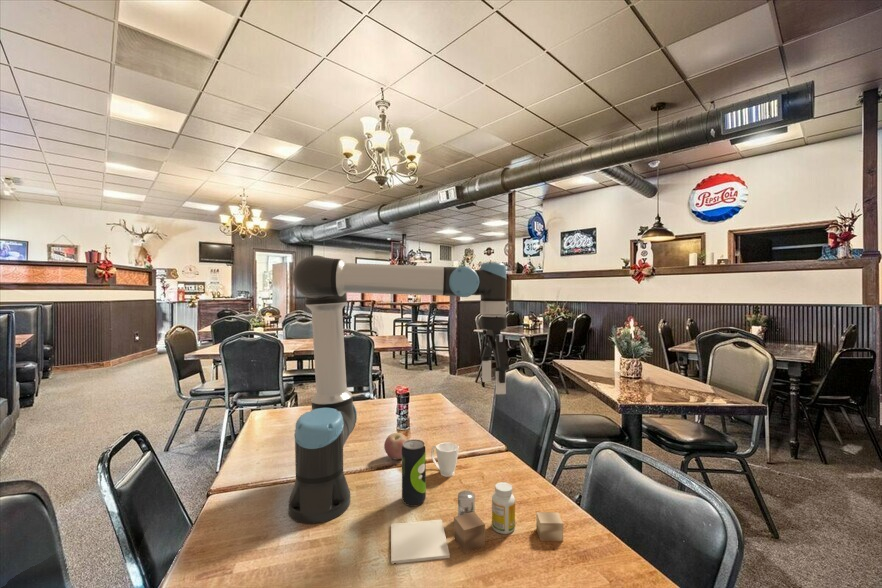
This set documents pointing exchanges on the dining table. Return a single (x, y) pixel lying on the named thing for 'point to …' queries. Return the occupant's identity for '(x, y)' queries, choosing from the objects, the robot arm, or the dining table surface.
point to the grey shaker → (466, 502)
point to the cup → (446, 458)
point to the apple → (395, 445)
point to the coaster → (418, 541)
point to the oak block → (549, 526)
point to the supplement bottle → (503, 508)
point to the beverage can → (413, 472)
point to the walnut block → (469, 532)
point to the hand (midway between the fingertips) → (493, 387)
